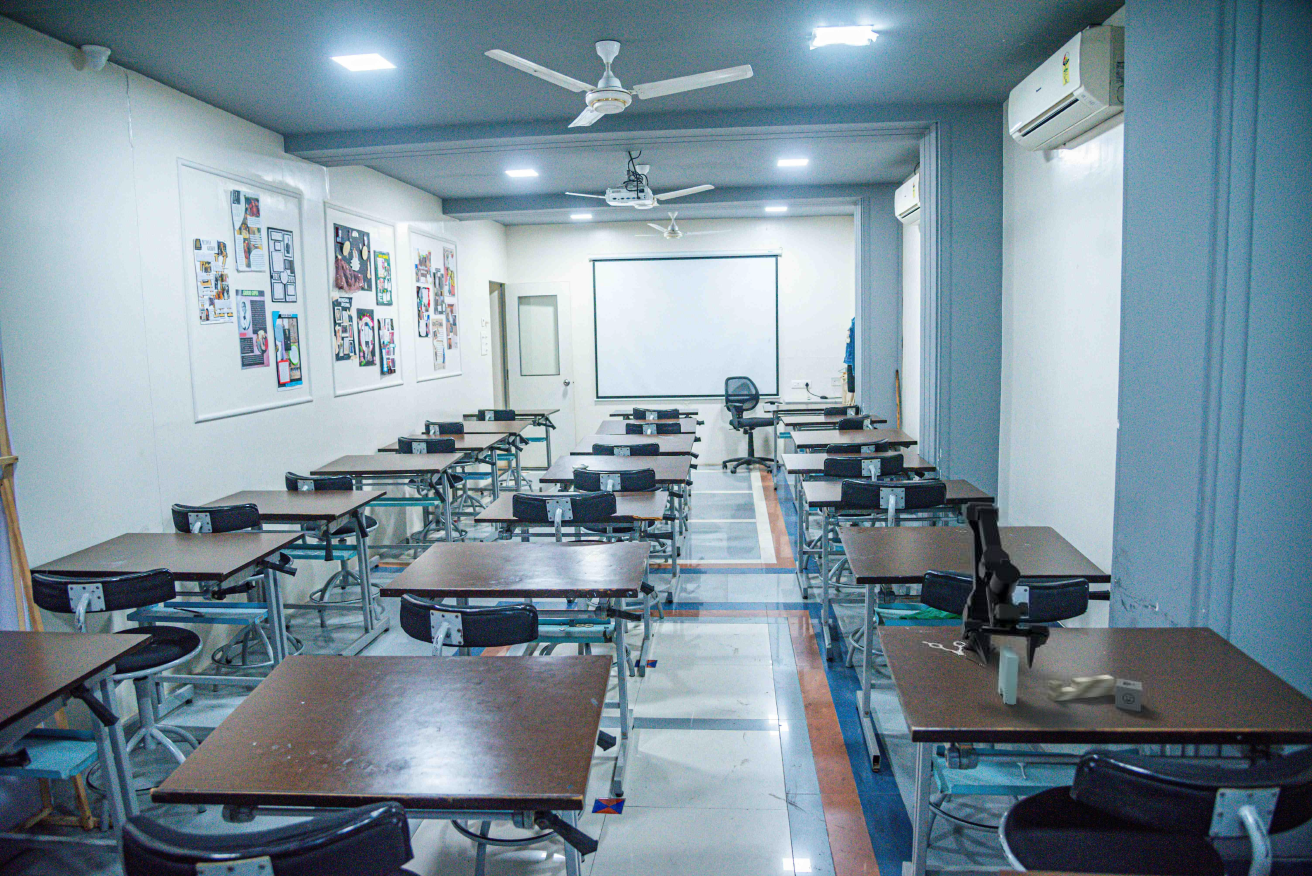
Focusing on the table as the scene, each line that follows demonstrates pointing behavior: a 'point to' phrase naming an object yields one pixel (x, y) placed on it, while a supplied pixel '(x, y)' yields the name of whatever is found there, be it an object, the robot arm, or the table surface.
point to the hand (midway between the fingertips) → (1008, 666)
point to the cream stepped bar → (1081, 688)
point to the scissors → (948, 649)
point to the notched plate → (1008, 674)
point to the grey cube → (1128, 694)
